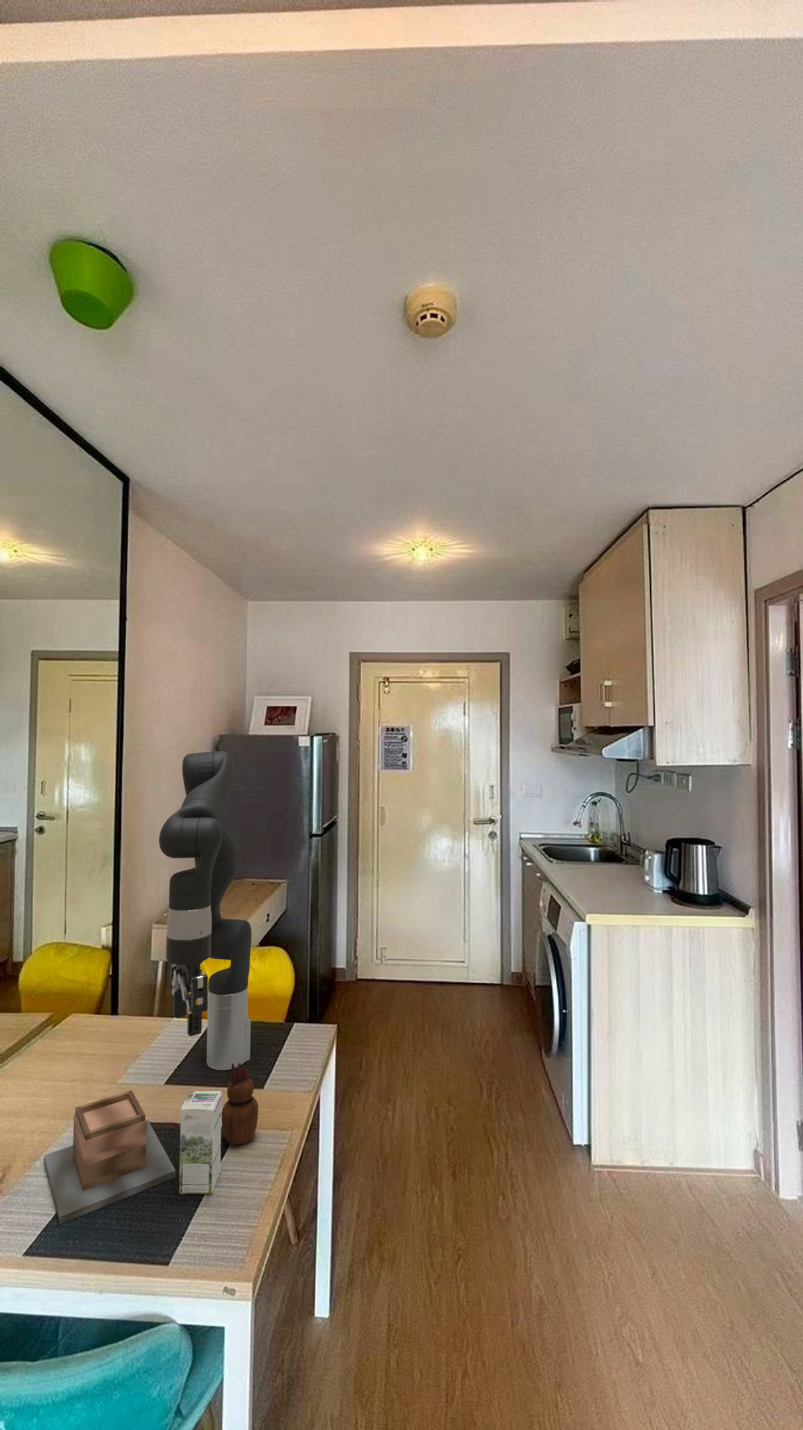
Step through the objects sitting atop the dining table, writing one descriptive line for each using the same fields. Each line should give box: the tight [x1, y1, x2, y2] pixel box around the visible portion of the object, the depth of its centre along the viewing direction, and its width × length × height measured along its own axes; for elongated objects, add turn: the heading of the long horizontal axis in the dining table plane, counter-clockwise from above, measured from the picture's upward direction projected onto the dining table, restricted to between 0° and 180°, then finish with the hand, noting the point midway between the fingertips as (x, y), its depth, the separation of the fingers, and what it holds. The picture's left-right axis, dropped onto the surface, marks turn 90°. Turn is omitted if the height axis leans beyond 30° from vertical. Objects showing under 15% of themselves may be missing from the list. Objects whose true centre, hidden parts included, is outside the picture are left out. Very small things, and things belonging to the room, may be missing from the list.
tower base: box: [43, 1089, 177, 1225], centre depth 112 cm, size 18×18×10 cm
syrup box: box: [178, 1090, 223, 1195], centre depth 108 cm, size 6×6×14 cm
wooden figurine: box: [221, 1063, 259, 1146], centre depth 120 cm, size 7×6×15 cm
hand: (186, 1025), depth 110 cm, fingers open, 8 cm apart
